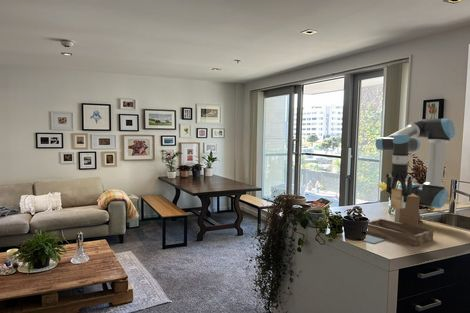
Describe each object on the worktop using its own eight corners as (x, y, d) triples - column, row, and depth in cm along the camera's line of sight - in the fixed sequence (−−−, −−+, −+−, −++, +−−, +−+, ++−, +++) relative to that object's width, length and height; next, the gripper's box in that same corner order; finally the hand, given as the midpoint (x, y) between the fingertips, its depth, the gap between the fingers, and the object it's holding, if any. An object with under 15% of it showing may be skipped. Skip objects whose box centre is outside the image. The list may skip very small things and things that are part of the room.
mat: (366, 235, 181) (366, 234, 181) (384, 240, 173) (384, 239, 173) (355, 238, 175) (355, 237, 175) (373, 244, 167) (373, 243, 167)
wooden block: (417, 232, 189) (419, 196, 188) (398, 230, 191) (400, 195, 190) (412, 227, 199) (414, 193, 197) (394, 226, 201) (395, 192, 199)
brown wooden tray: (380, 226, 198) (380, 218, 198) (432, 240, 175) (433, 230, 175) (361, 231, 187) (361, 223, 187) (414, 246, 164) (415, 236, 163)
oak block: (395, 206, 184) (396, 187, 183) (404, 207, 180) (405, 189, 179) (390, 207, 181) (391, 188, 180) (399, 209, 177) (400, 190, 176)
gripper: (380, 162, 183) (378, 204, 185) (413, 165, 169) (411, 211, 171) (387, 161, 188) (385, 203, 190) (421, 164, 173) (418, 209, 175)
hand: (397, 206), depth 180 cm, fingers closed on oak block, 5 cm apart
